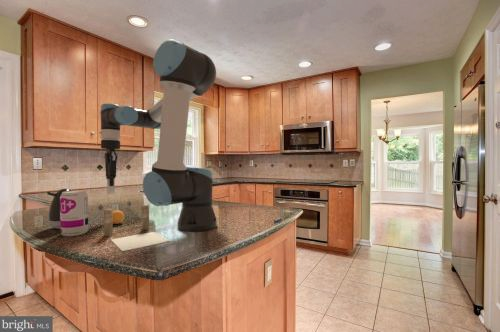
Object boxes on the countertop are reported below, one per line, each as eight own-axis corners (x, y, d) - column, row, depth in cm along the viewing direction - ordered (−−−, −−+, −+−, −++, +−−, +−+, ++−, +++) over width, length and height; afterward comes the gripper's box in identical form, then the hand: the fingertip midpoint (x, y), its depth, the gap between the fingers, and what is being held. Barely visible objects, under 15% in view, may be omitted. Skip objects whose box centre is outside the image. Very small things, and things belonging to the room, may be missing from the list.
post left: (113, 235, 88) (113, 209, 88) (105, 236, 86) (104, 210, 86) (111, 233, 90) (111, 208, 90) (103, 234, 88) (103, 209, 88)
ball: (125, 223, 104) (125, 210, 104) (111, 226, 100) (110, 212, 100) (122, 221, 108) (122, 208, 108) (107, 223, 105) (107, 210, 105)
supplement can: (74, 237, 85) (73, 193, 85) (54, 236, 87) (53, 192, 87) (93, 231, 93) (93, 190, 93) (75, 229, 95) (74, 190, 95)
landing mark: (169, 241, 81) (169, 240, 81) (122, 251, 72) (122, 250, 72) (153, 232, 91) (153, 231, 91) (110, 240, 82) (110, 239, 82)
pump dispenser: (46, 227, 99) (45, 188, 99) (78, 222, 106) (77, 186, 106) (48, 232, 91) (48, 190, 91) (82, 227, 98) (82, 188, 98)
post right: (150, 228, 96) (149, 205, 96) (143, 230, 94) (142, 206, 94) (147, 227, 98) (147, 204, 98) (140, 228, 96) (140, 205, 96)
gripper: (98, 140, 114) (98, 192, 114) (104, 138, 104) (104, 195, 104) (116, 141, 118) (116, 191, 119) (123, 139, 109) (124, 194, 109)
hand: (110, 193), depth 112 cm, fingers closed
